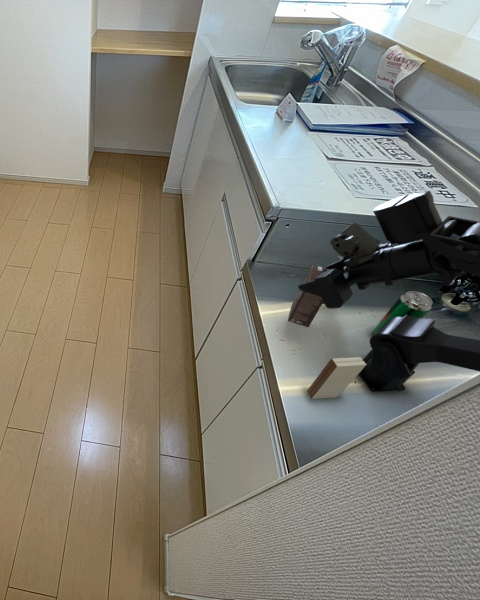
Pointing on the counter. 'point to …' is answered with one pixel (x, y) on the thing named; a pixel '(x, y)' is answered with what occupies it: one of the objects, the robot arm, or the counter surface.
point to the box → (306, 302)
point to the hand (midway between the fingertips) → (308, 280)
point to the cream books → (335, 377)
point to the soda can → (407, 307)
